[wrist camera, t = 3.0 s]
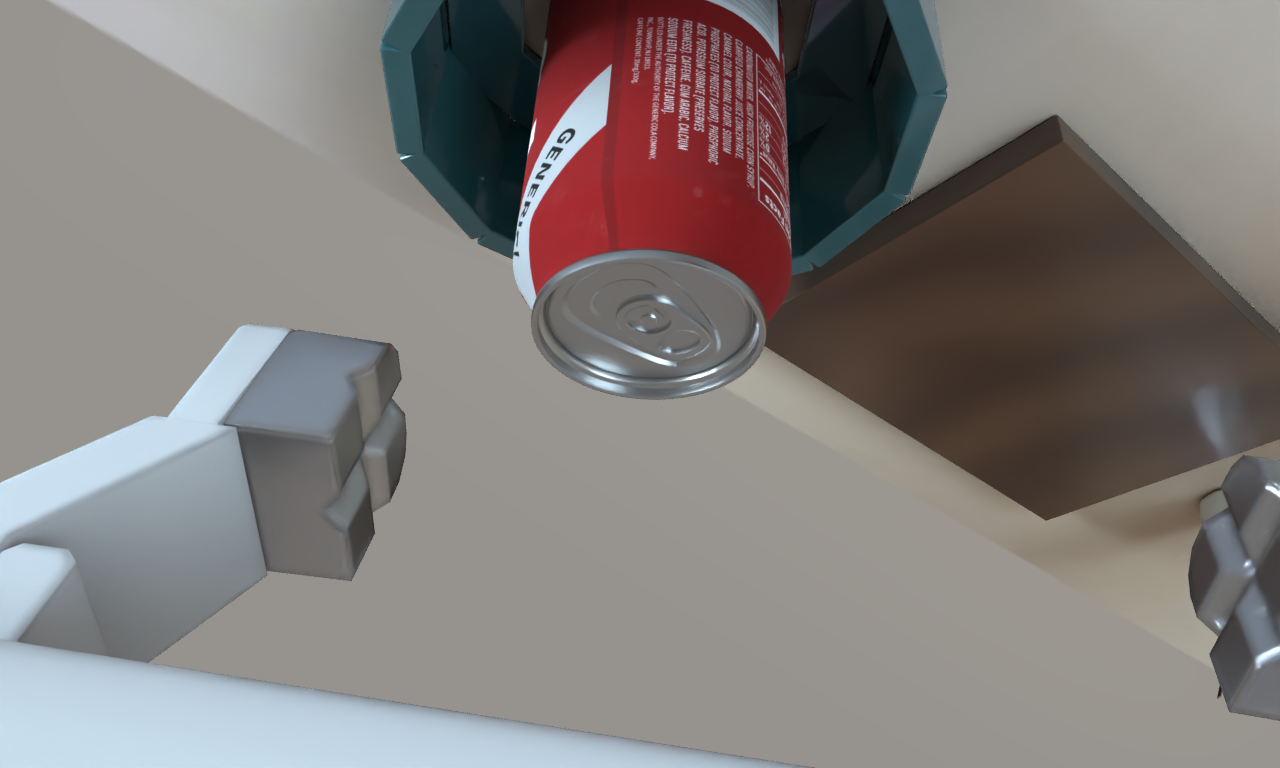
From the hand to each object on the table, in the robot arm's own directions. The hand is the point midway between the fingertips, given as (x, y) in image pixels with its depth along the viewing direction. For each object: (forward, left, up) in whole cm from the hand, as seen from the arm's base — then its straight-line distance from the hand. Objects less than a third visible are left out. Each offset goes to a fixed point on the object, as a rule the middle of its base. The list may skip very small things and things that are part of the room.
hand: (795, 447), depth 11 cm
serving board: (-16, +26, -22) cm, 38 cm away
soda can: (+1, +11, -22) cm, 25 cm away
